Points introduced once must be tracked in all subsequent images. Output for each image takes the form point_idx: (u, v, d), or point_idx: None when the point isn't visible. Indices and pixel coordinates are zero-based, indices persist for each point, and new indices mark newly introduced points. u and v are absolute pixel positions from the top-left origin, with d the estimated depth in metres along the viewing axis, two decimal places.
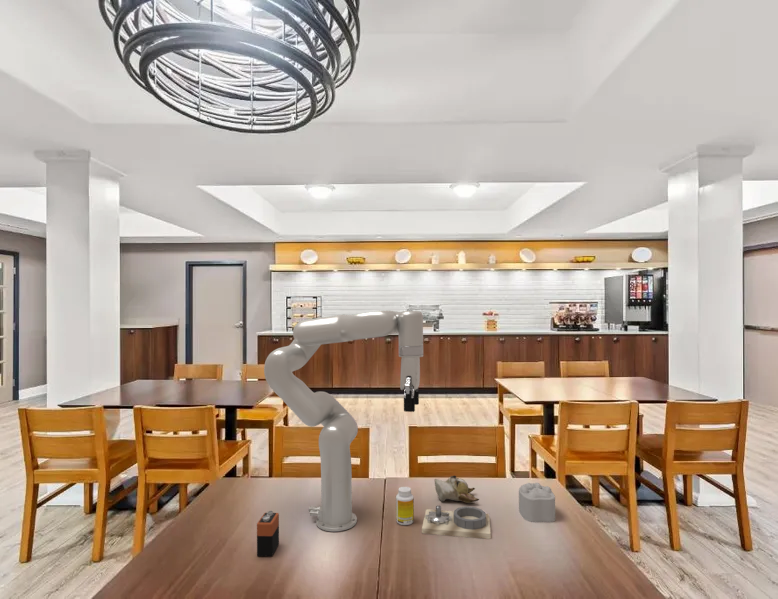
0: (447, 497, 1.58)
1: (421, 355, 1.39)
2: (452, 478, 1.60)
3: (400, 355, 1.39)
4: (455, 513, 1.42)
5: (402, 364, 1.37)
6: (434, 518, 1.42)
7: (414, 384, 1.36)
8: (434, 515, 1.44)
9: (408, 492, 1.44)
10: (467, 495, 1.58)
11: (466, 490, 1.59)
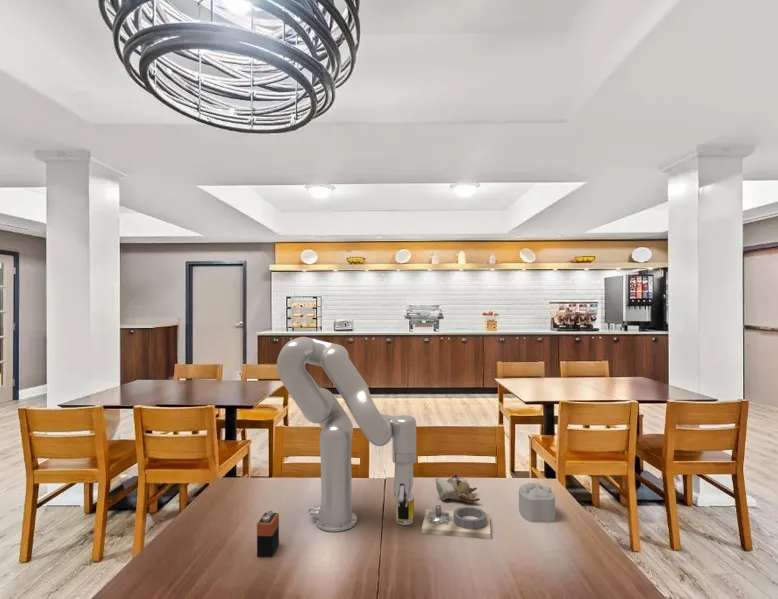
0: (448, 496, 1.59)
1: (414, 461, 1.43)
2: (453, 478, 1.61)
3: (394, 461, 1.43)
4: (455, 513, 1.42)
5: (396, 471, 1.41)
6: (434, 518, 1.42)
7: (407, 492, 1.40)
8: (434, 515, 1.44)
9: None
10: (468, 495, 1.58)
11: (467, 490, 1.59)
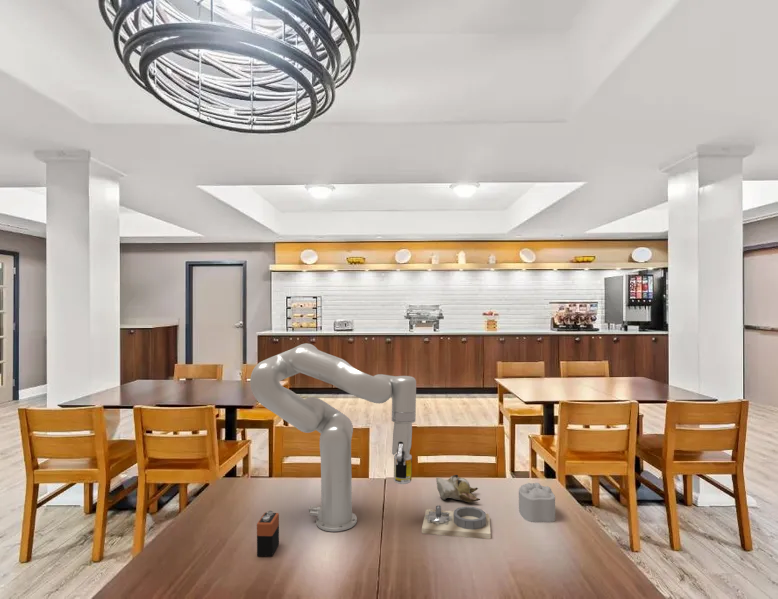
0: (448, 495, 1.59)
1: (413, 421, 1.43)
2: (454, 477, 1.61)
3: (393, 420, 1.43)
4: (455, 513, 1.42)
5: (394, 430, 1.41)
6: (434, 518, 1.42)
7: (405, 450, 1.40)
8: (434, 515, 1.44)
9: None
10: (468, 494, 1.58)
11: (467, 489, 1.59)
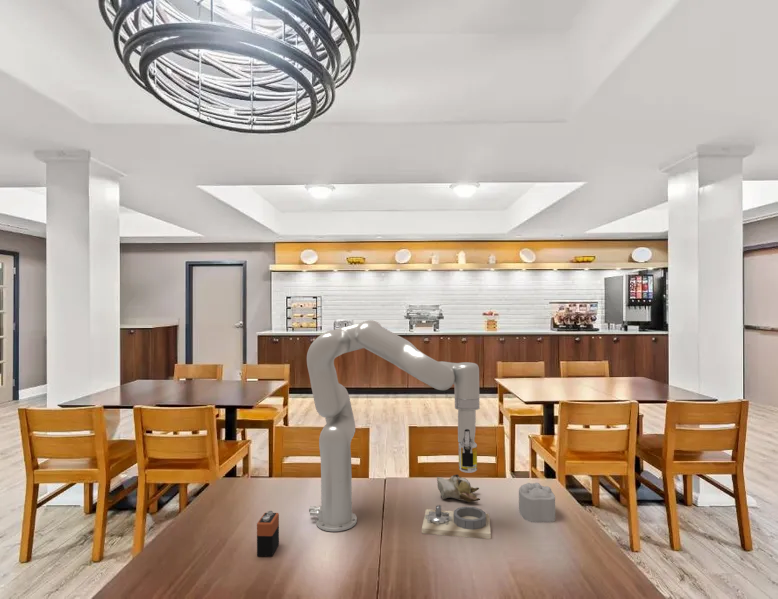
0: (449, 495, 1.60)
1: (478, 408, 1.40)
2: (454, 477, 1.61)
3: (457, 408, 1.40)
4: (455, 513, 1.42)
5: (460, 417, 1.38)
6: (434, 518, 1.42)
7: (472, 438, 1.37)
8: (434, 515, 1.44)
9: None
10: (469, 494, 1.59)
11: (468, 489, 1.59)
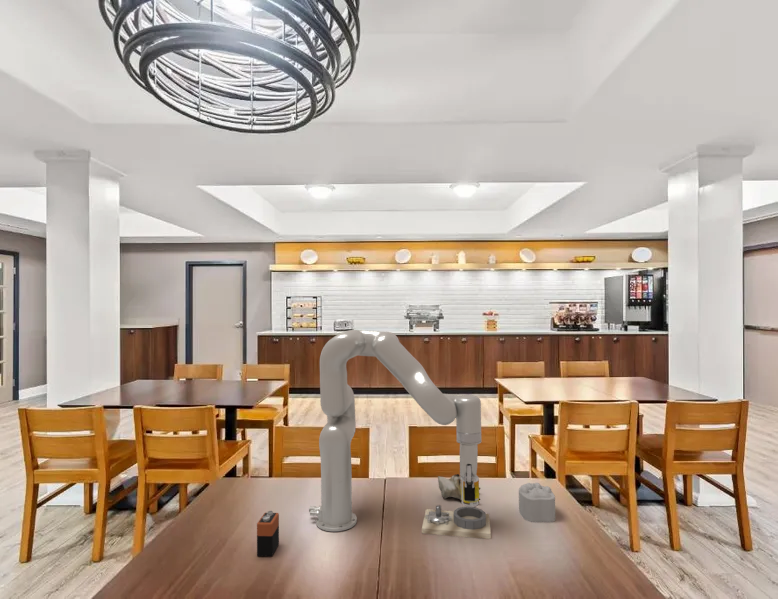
0: (449, 494, 1.60)
1: (480, 441, 1.40)
2: (455, 476, 1.62)
3: (459, 441, 1.40)
4: (455, 513, 1.42)
5: (462, 452, 1.37)
6: (434, 518, 1.42)
7: (474, 472, 1.36)
8: (434, 515, 1.44)
9: None
10: None
11: None
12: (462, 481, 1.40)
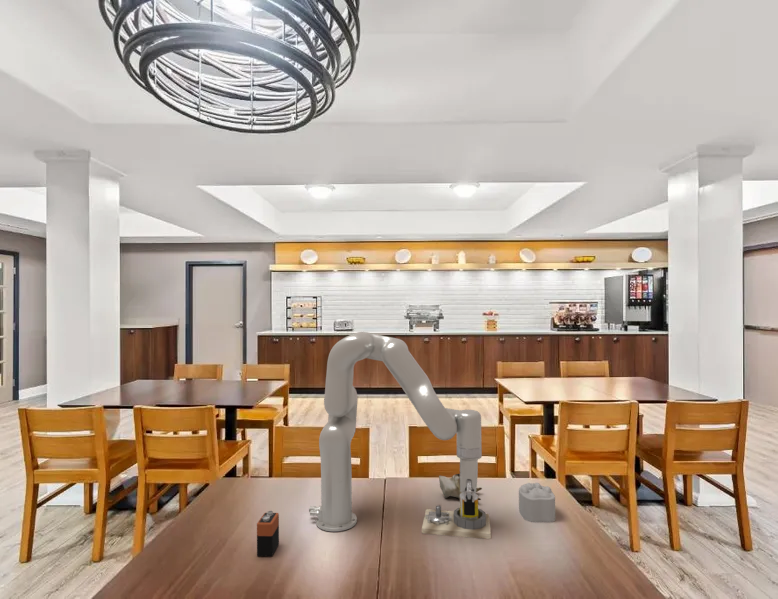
0: (450, 494, 1.61)
1: (480, 456, 1.39)
2: (456, 476, 1.62)
3: (459, 456, 1.40)
4: (455, 513, 1.42)
5: (462, 467, 1.37)
6: (434, 518, 1.42)
7: (474, 488, 1.36)
8: (434, 515, 1.44)
9: None
10: None
11: None
12: (461, 499, 1.40)
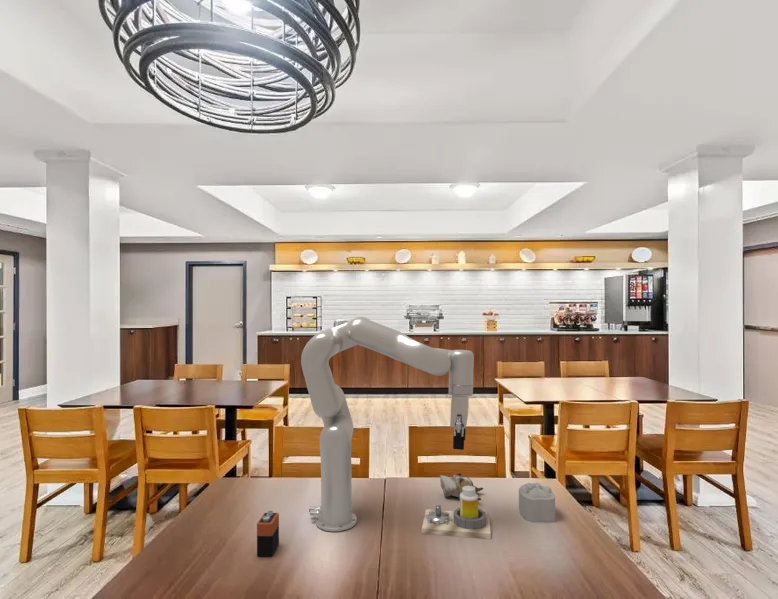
0: (450, 493, 1.61)
1: (471, 394, 1.43)
2: (456, 475, 1.62)
3: (450, 393, 1.43)
4: (455, 513, 1.42)
5: (453, 402, 1.41)
6: (434, 518, 1.42)
7: (464, 423, 1.40)
8: (434, 515, 1.44)
9: (473, 491, 1.40)
10: None
11: None
12: (461, 499, 1.40)
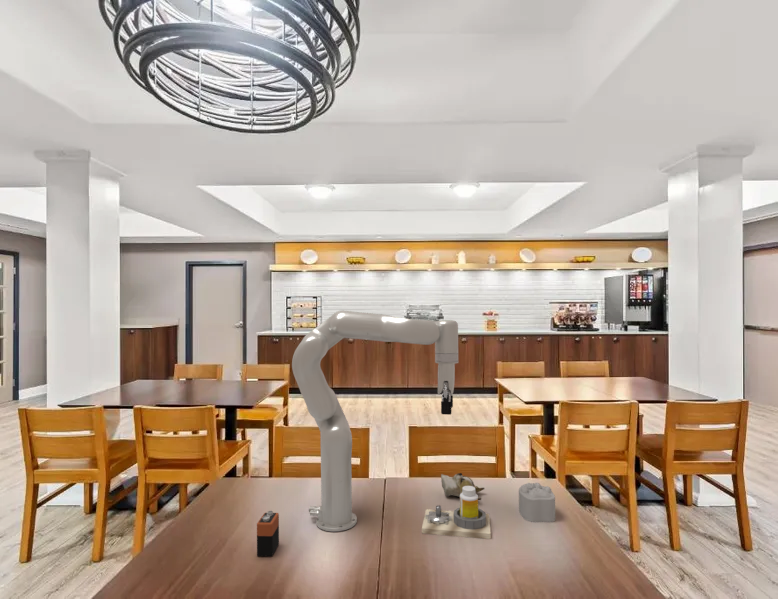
0: (451, 493, 1.62)
1: (457, 361, 1.49)
2: (457, 475, 1.63)
3: (437, 361, 1.49)
4: (455, 513, 1.42)
5: (439, 370, 1.47)
6: (434, 518, 1.42)
7: (451, 389, 1.46)
8: (434, 515, 1.44)
9: (473, 491, 1.40)
10: None
11: None
12: (461, 499, 1.40)
